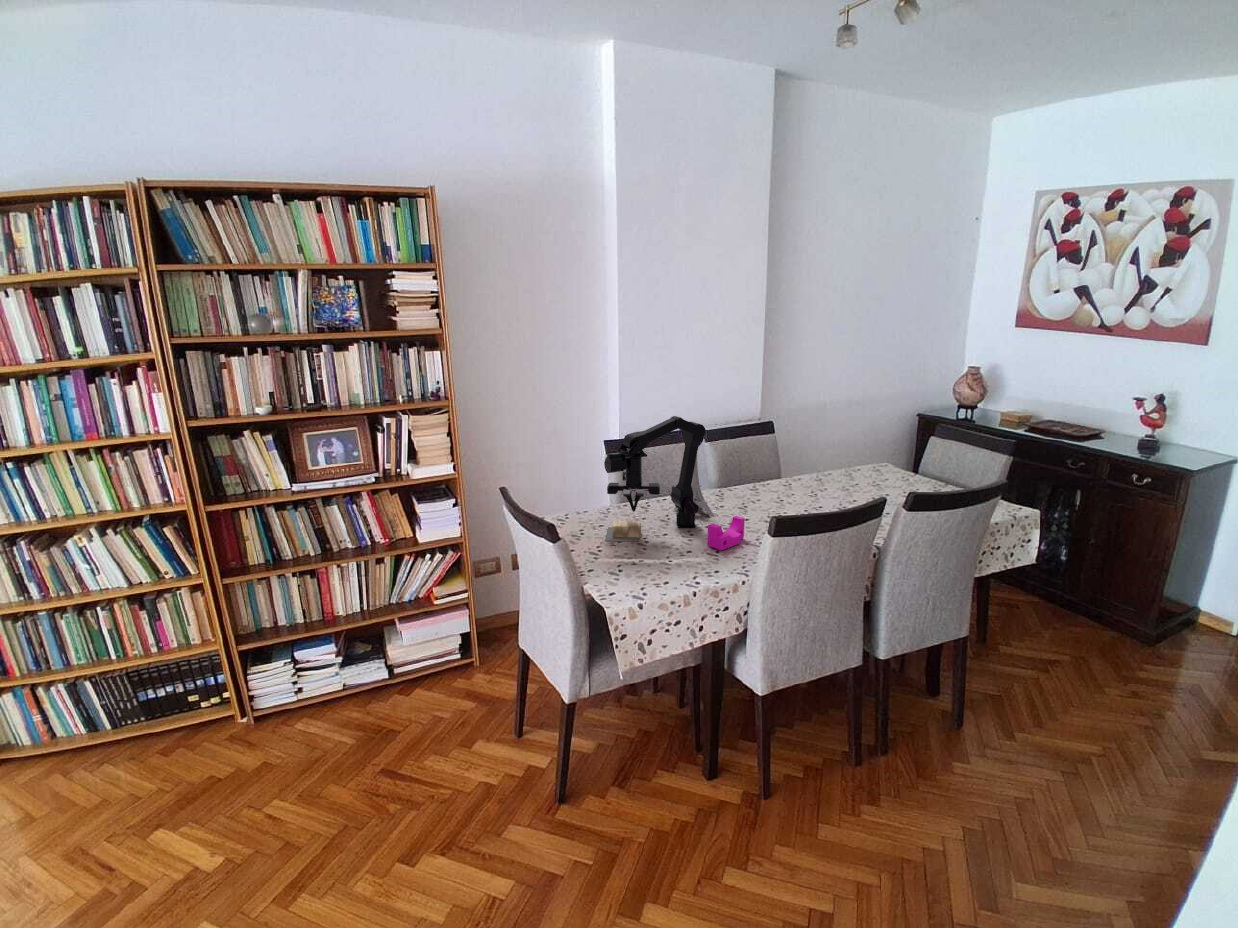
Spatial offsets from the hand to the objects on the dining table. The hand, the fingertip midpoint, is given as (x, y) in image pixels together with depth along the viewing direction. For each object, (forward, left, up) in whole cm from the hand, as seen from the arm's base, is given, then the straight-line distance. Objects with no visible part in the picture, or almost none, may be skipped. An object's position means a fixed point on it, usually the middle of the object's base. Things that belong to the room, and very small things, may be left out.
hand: (633, 511), depth 231 cm
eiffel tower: (-23, -24, -9) cm, 35 cm away
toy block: (-34, +6, -10) cm, 35 cm away
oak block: (-2, 0, -7) cm, 7 cm away
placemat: (+4, 0, -9) cm, 10 cm away
